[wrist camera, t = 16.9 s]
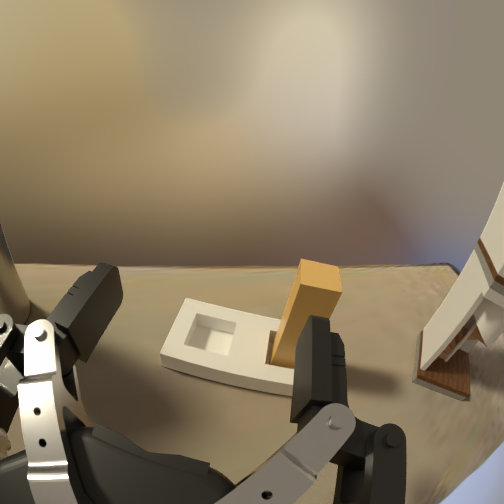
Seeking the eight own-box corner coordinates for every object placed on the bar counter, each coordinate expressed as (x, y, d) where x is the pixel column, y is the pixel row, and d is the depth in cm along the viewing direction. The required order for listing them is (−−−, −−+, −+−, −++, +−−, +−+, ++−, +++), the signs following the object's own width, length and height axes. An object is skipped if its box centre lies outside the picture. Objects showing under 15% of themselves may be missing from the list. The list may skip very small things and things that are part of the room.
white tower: (412, 381, 33) (545, 165, 13) (417, 336, 41) (512, 152, 21) (462, 400, 29) (594, 214, 9) (461, 356, 37) (561, 190, 18)
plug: (268, 370, 33) (300, 283, 24) (271, 346, 36) (301, 258, 28) (298, 375, 33) (342, 292, 24) (299, 351, 36) (338, 266, 27)
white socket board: (162, 366, 31) (159, 353, 30) (186, 312, 39) (186, 297, 38) (318, 399, 30) (326, 389, 29) (318, 340, 39) (325, 328, 37)
